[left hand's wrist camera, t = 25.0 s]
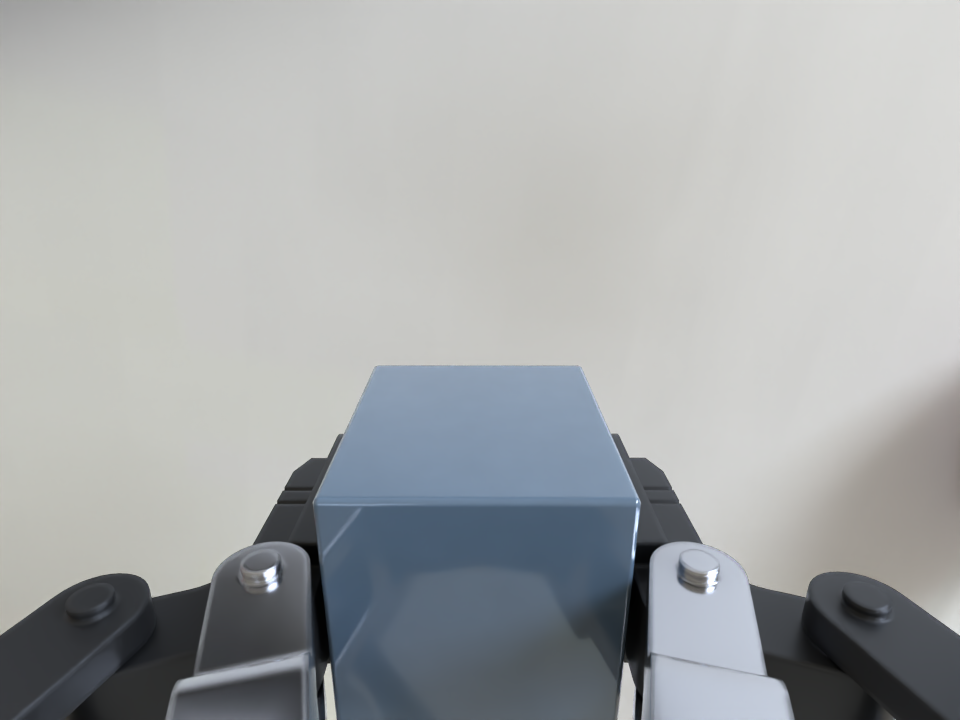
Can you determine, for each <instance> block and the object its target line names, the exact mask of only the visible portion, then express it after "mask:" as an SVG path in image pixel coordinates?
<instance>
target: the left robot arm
mask: <svg viewBox="0 0 960 720" xmlns="http://www.w3.org/2000/svg"><path fill="white" fill-rule="evenodd" d="M343 435H344V434H339V435H338V437H337V439H336V441H335V443H334V445H333V447H332V449H331V451H330V453H329V455H328V458H311V459H310V460H309V461H307V462H306V463H305V464H303V465H302V466H301V467H299V468H298V469H297V470H295V471H294V472H293V474H292V475H291V477H290V479H289V481H288V483H287V484H286V486H285V491H283V492H282V493H281V495H280V497H279V499H278V501H277V504H275V506H274V508H273V510H272V511H271V513H270V515H269V517H268V518H267V520H266V522H265V524H264V526H263V527H262V529H261V531H260V533H259V535H258V536H257V538H256V540H255V542H254V544H253V545H252V546H249V547H246V548H244V549H242V550H240V551H238V552H236V553H234V554H232V555H231V556H229V557H228V558H227V559H226V560H224V561H223V562H222V563H221V564H220V565H219V566H218V568H217V569H216V571H215V572H214V574H213V577H212V581H211V583H209V584H206V585H203V586H201V587H197V588H194V589H190V590H185V591H181V592H176V593H172V594H167V595H163V596H158V597H154V598H151V594H150V589H149V586H148V584H147V583H146V581H145V580H144V579H142V578H141V577H138V576H136V575H132V574H122V573H118V574H108V575H102V576H98V577H95V578H91V579H88V580H85V581H83V582H80V583H78V584H76V585H73V586H71V587H70V588H68V589H66V590H64V591H62V592H61V593H59V594H58V595H56V596H55V597H53V598H52V599H51V600H49V601H48V602H46V603H45V604H44V605H42V606H41V607H39V608H38V609H37V610H35V611H34V612H33V613H31V614H30V615H28V616H27V617H26V618H24V619H23V620H21V621H20V622H19V623H17V624H16V625H14V626H13V627H12V628H10V629H9V630H7V631H6V632H5V633H3V634H2V635H1V636H0V720H327V704H326V693H325V684H324V674H325V670H326V667H327V663H330V655H329V646H328V637H327V628H326V619H325V610H324V601H323V592H322V583H321V574H320V565H319V556H318V547H317V538H316V529H315V520H314V511H313V501H314V498H315V496H316V494H317V492H318V489H319V487H320V485H321V483H322V481H323V479H324V476H325V474H326V472H327V470H328V468H329V465H330V463H331V461H332V459H333V457H334V455H335V452H336V450H337V448H338V446H339V444H340V442H341V439H342V437H343ZM611 436H612V438H613V440H614V442H615V445H616V447H617V449H618V452H619V454H620V456H621V458H622V461H623V463H624V465H625V467H626V470H627V472H628V474H629V477H630V479H631V481H632V483H633V486H634V488H635V490H636V492H637V495H638V497H639V499H640V502H641V508H640V517H639V526H638V536H637V545H636V554H635V563H634V573H633V582H632V591H631V600H630V610H629V619H628V628H627V638H626V647H625V656H624V663H629V667H630V670H631V674H632V677H633V681H634V684H635V693H634V704H633V720H895V719H896V720H960V636H959V635H958V634H957V633H955V632H954V631H952V630H951V629H950V628H948V627H947V626H946V625H944V624H943V623H941V622H940V621H939V620H937V619H936V618H934V617H933V616H932V615H930V614H929V613H927V612H926V611H925V610H923V609H922V608H921V607H919V606H918V605H916V604H915V603H914V602H912V601H911V600H909V599H908V598H907V597H905V596H904V595H902V594H901V593H899V592H898V591H896V590H895V589H893V588H891V587H889V586H888V585H886V584H884V583H881V582H879V581H877V580H874V579H871V578H869V577H866V576H862V575H858V574H854V573H848V572H828V573H823V574H820V575H818V576H816V577H815V578H813V579H812V581H811V582H810V584H809V587H808V591H807V595H806V598H805V597H801V596H796V595H792V594H787V593H783V592H778V591H773V590H769V589H765V588H761V587H757V586H754V585H751V584H749V581H748V577H747V574H746V572H745V571H744V569H743V568H742V566H741V565H740V564H739V563H738V562H737V561H736V560H734V559H733V558H732V557H731V556H729V555H728V554H726V553H724V552H722V551H720V550H718V549H716V548H714V547H711V546H708V545H705V544H703V543H702V542H701V540H700V538H699V536H698V534H697V532H696V531H695V529H694V527H693V525H692V523H691V521H690V520H689V518H688V516H687V514H686V512H685V510H684V509H683V507H682V505H681V504H679V500H678V498H677V496H676V494H675V492H674V490H672V487H671V485H670V483H669V481H668V479H667V478H666V476H665V474H664V472H663V471H662V470H661V469H659V468H658V467H657V466H655V465H654V464H653V463H651V462H650V461H649V460H647V459H646V458H629V456H628V454H627V452H626V450H625V447H624V445H623V443H622V441H621V439H620V437H619V435H618V434H611Z"/></svg>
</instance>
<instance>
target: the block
mask: <svg viewBox="0 0 960 720" xmlns="http://www.w3.org/2000/svg"><path fill="white" fill-rule="evenodd" d="M640 508H641V502H640V499H639V497H638V495H637V492H636V490H635V488H634V486H633V483H632V481H631V479H630V477H629V474H628V472H627V470H626V467H625V465H624V463H623V461H622V458H621V456H620V454H619V452H618V449H617V447H616V445H615V442H614V440H613V438H612V436H611V433H610V431H609V429H608V427H607V424H606V422H605V420H604V417H603V415H602V413H601V411H600V408H599V406H598V404H597V402H596V399H595V397H594V395H593V392H592V390H591V388H590V386H589V383H588V381H587V379H586V377H585V374H584V372H583V370H582V367H580V366H376V367H375V368H374V370H373V372H372V374H371V376H370V378H369V381H368V383H367V385H366V387H365V389H364V392H363V394H362V396H361V398H360V400H359V402H358V405H357V407H356V409H355V411H354V413H353V415H352V418H351V420H350V422H349V424H348V426H347V429H346V431H345V433H344V435H343V437H342V439H341V442H340V444H339V446H338V448H337V450H336V452H335V455H334V457H333V459H332V461H331V463H330V465H329V468H328V470H327V472H326V474H325V476H324V479H323V481H322V483H321V485H320V487H319V489H318V492H317V494H316V496H315V498H314V501H313V511H314V520H315V529H316V538H317V547H318V556H319V565H320V574H321V583H322V592H323V601H324V610H325V619H326V628H327V637H328V646H329V655H330V664H331V673H332V682H333V691H334V700H335V709H336V718H337V720H618V712H619V702H620V693H621V684H622V675H623V665H624V656H625V647H626V638H627V628H628V619H629V610H630V600H631V591H632V582H633V573H634V563H635V554H636V545H637V536H638V526H639V517H640Z"/></svg>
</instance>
